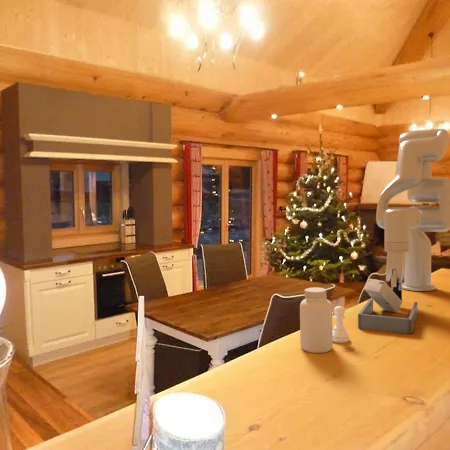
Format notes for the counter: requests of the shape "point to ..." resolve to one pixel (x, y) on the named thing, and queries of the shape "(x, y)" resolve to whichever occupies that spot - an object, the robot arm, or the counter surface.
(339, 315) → the chess pawn
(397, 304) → the skincare box
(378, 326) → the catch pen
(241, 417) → the counter surface
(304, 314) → the pill bottle
